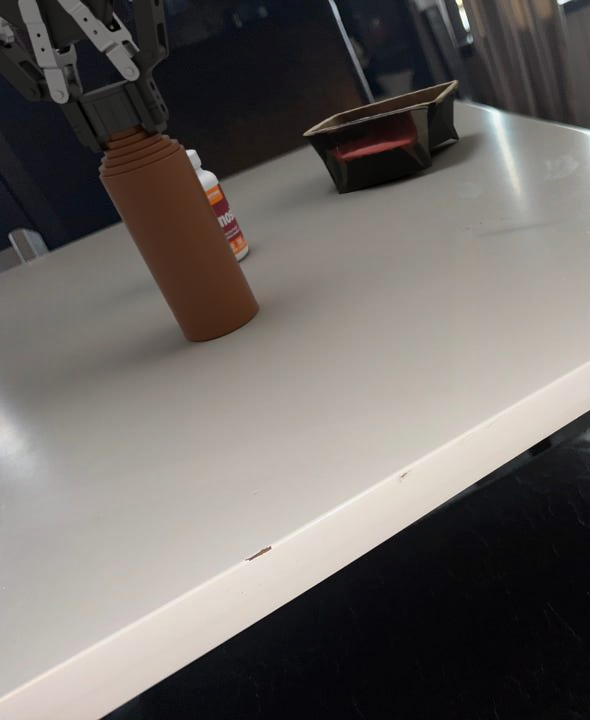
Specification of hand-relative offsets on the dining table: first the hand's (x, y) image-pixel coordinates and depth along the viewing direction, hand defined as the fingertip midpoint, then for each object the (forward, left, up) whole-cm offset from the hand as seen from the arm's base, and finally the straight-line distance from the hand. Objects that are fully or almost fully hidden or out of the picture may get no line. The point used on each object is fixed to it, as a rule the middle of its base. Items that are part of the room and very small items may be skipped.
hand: (131, 139), depth 56 cm
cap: (0, 0, +3) cm, 3 cm away
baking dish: (+13, +33, -16) cm, 39 cm away
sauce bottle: (0, 0, -16) cm, 16 cm away
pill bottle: (-5, +16, -16) cm, 23 cm away
